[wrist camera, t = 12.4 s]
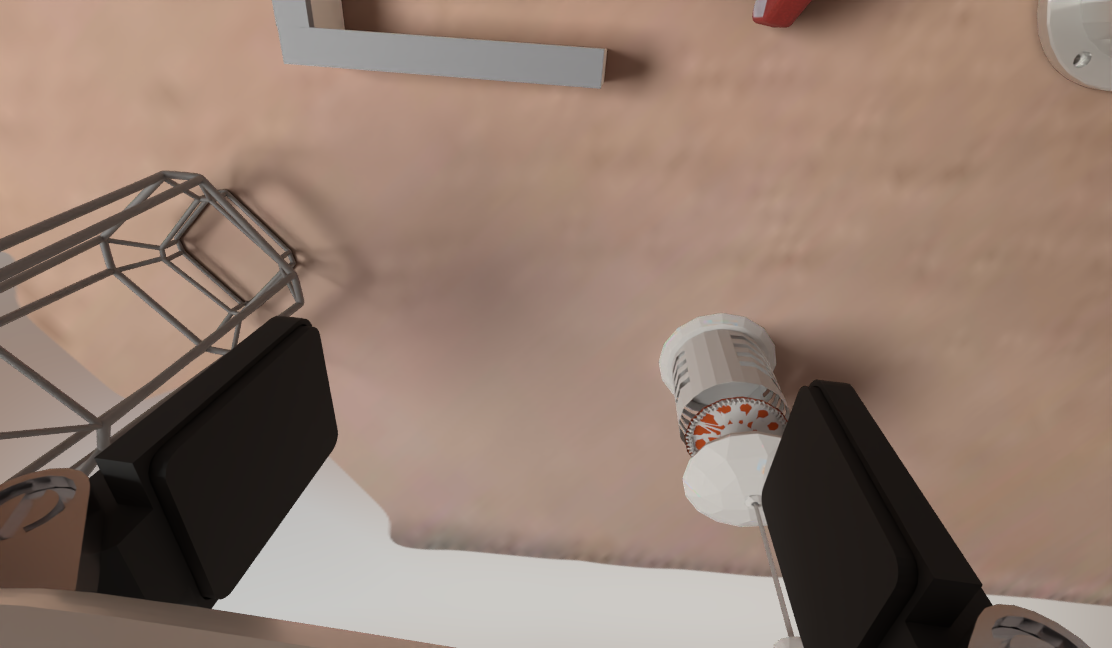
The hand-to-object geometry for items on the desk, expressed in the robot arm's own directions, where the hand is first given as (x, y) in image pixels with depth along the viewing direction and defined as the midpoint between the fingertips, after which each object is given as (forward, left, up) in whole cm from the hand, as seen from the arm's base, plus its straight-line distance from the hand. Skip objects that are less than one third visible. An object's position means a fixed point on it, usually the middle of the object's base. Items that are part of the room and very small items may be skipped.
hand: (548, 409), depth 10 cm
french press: (-12, +18, -31) cm, 38 cm away
